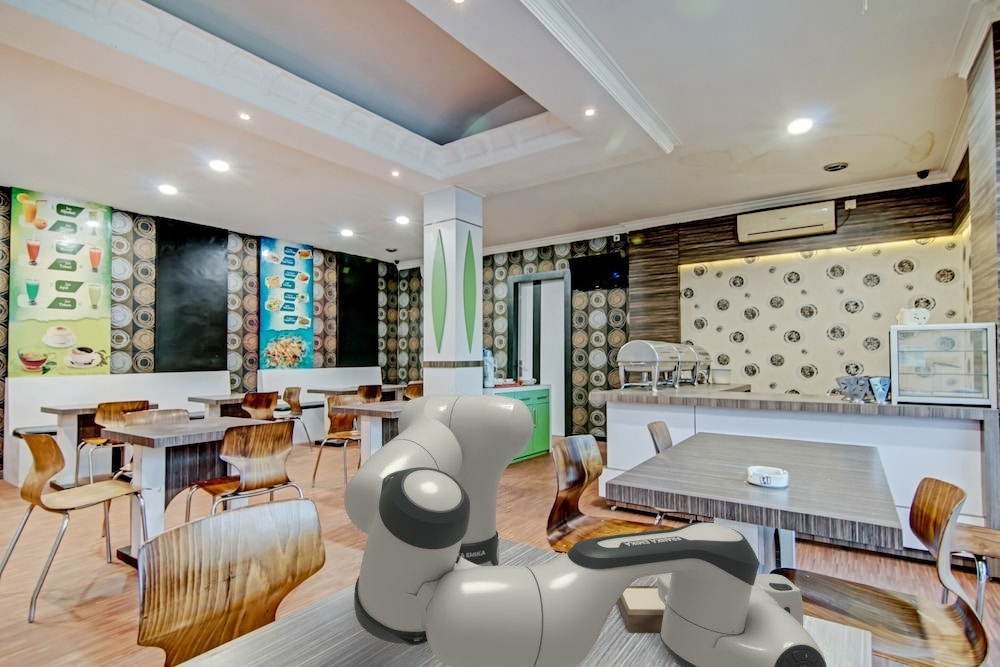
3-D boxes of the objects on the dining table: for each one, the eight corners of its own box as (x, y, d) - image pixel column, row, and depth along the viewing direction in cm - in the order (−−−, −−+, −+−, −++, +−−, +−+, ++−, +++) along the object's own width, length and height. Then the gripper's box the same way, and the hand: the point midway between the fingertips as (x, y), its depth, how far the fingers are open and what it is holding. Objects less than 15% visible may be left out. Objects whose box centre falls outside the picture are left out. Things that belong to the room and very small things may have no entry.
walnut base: (628, 632, 84) (628, 613, 84) (616, 601, 94) (615, 584, 95) (684, 632, 83) (683, 613, 83) (665, 601, 94) (664, 584, 94)
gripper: (671, 632, 74) (647, 591, 88) (814, 633, 73) (768, 591, 87) (669, 588, 75) (646, 553, 88) (811, 588, 74) (766, 553, 88)
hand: (707, 572), depth 88 cm, fingers open, 8 cm apart
